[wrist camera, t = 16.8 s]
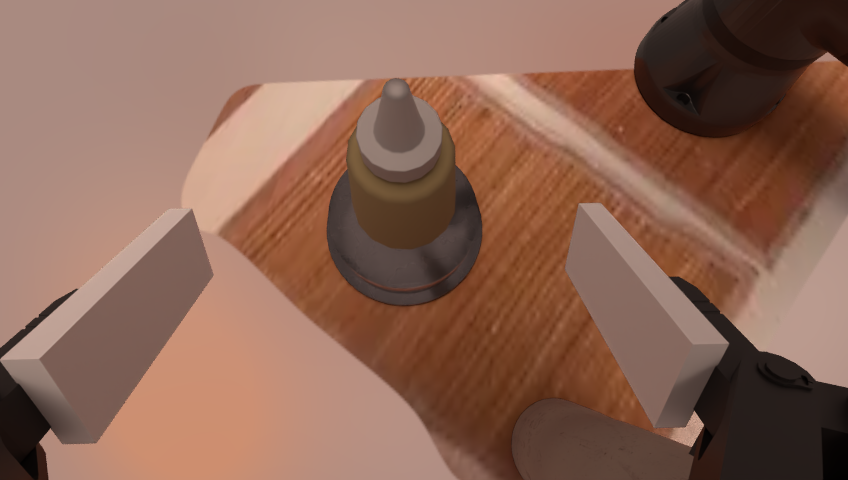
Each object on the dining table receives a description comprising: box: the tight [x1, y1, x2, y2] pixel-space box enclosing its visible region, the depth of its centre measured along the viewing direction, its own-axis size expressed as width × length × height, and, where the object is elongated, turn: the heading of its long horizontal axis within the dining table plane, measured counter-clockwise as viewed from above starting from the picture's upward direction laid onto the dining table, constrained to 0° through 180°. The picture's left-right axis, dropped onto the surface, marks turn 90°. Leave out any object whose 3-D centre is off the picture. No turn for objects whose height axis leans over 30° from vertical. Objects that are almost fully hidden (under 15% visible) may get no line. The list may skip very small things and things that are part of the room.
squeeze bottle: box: [346, 78, 456, 250], centre depth 27 cm, size 8×8×18 cm
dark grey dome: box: [327, 165, 482, 306], centre depth 38 cm, size 15×15×5 cm
